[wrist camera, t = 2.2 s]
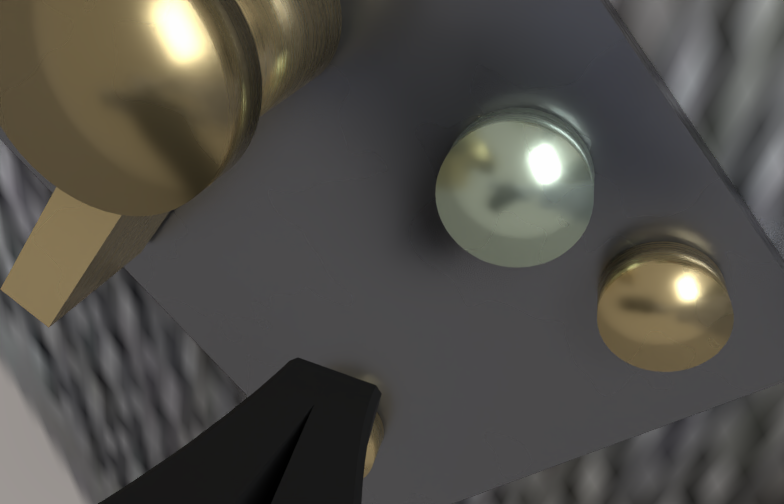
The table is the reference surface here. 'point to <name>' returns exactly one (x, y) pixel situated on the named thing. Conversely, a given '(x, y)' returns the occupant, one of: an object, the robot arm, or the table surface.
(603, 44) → the base plate
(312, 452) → the robot arm
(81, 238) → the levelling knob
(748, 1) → the table surface
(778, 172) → the table surface
